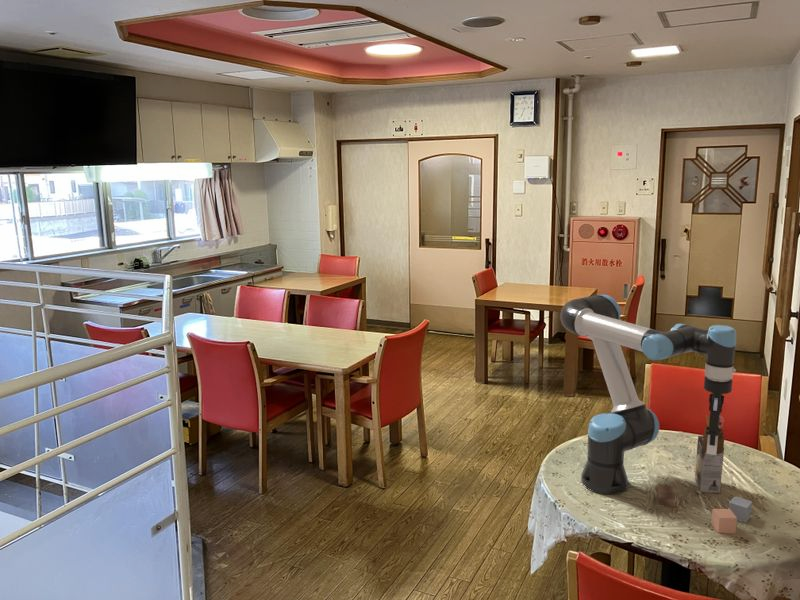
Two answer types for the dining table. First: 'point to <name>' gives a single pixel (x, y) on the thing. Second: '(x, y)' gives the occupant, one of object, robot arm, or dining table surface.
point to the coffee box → (708, 469)
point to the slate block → (741, 508)
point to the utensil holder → (720, 438)
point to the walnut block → (666, 495)
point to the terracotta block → (724, 520)
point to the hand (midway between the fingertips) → (712, 449)
